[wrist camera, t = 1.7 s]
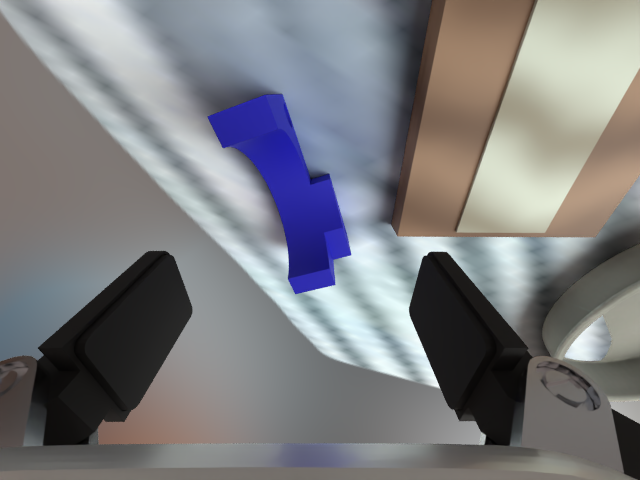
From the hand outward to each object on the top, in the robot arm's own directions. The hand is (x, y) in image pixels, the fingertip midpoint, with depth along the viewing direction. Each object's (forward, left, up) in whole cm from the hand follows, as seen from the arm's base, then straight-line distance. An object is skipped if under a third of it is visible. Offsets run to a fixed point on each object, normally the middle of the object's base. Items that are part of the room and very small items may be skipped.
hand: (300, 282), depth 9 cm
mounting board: (-5, +15, -12) cm, 19 cm away
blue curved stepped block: (0, -1, -12) cm, 12 cm away
